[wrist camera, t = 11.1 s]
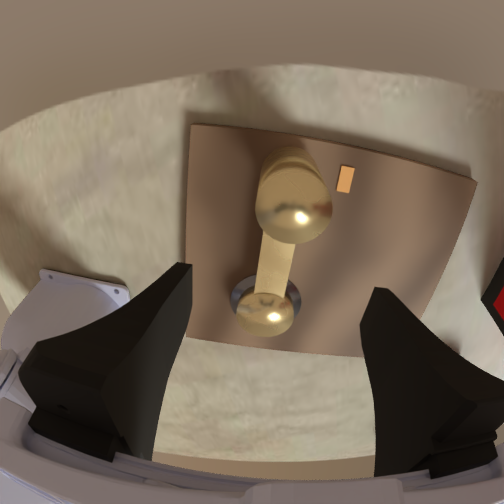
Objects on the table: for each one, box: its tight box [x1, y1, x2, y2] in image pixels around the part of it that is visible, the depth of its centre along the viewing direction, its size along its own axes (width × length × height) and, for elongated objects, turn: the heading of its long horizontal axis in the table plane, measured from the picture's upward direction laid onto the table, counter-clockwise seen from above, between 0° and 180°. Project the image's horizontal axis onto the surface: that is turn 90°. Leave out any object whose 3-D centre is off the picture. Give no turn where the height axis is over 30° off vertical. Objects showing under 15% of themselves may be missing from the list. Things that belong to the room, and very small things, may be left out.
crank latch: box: [236, 146, 333, 337], centre depth 18 cm, size 14×4×6 cm, turn 173°
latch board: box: [185, 123, 478, 357], centre depth 22 cm, size 19×17×1 cm
